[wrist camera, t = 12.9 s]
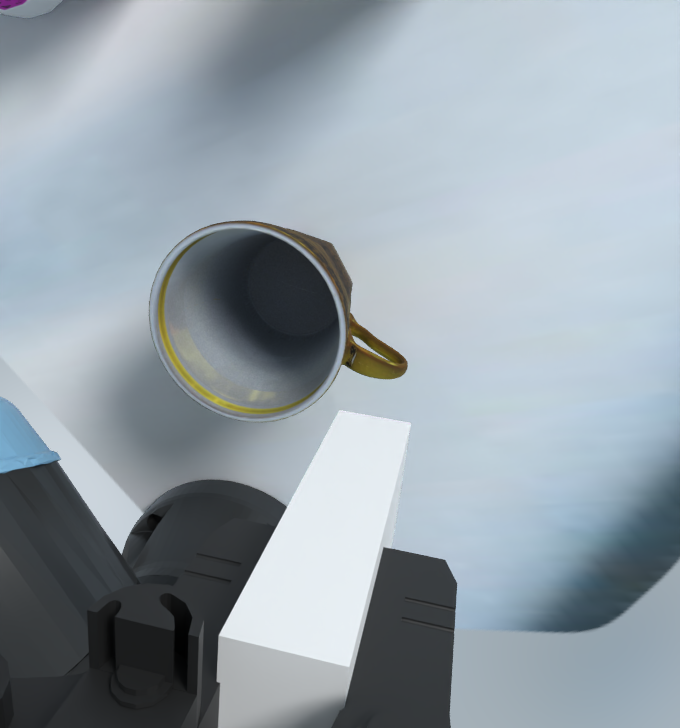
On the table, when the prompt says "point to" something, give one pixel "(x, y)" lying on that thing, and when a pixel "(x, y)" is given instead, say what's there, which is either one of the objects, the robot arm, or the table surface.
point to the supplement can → (27, 7)
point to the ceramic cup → (259, 321)
